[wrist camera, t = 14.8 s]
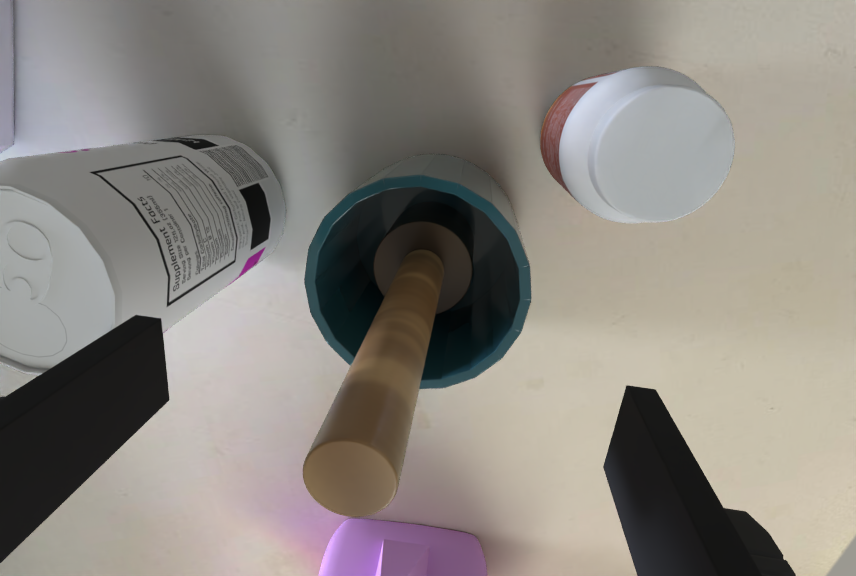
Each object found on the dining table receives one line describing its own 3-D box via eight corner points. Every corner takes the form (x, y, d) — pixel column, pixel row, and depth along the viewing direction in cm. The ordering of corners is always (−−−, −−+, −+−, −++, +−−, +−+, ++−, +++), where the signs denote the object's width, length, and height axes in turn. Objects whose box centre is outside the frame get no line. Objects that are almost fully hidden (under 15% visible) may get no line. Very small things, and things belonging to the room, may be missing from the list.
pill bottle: (568, 212, 29) (615, 273, 19) (519, 115, 28) (540, 125, 18) (673, 157, 28) (786, 191, 17) (627, 51, 26) (721, 20, 16)
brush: (453, 188, 29) (402, 351, 10) (486, 265, 30) (494, 535, 12) (375, 221, 30) (201, 423, 11) (411, 294, 31) (306, 582, 13)
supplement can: (269, 285, 33) (112, 423, 19) (149, 234, 33) (-102, 336, 19) (307, 168, 30) (155, 229, 16) (176, 110, 30) (-98, 121, 16)
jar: (479, 124, 28) (478, 135, 20) (541, 281, 31) (563, 348, 23) (324, 194, 31) (264, 231, 22) (395, 335, 33) (365, 414, 25)
